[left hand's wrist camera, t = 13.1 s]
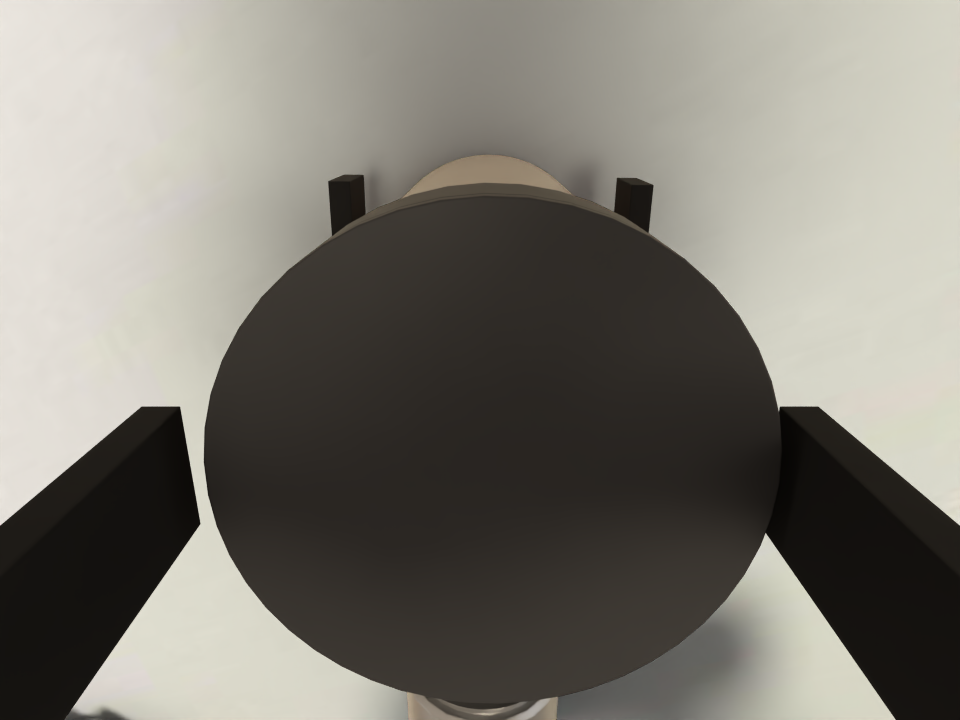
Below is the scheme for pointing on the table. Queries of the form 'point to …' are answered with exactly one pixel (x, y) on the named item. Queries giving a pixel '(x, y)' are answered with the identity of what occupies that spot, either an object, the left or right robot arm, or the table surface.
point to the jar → (487, 174)
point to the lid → (492, 446)
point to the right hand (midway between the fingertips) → (490, 179)
